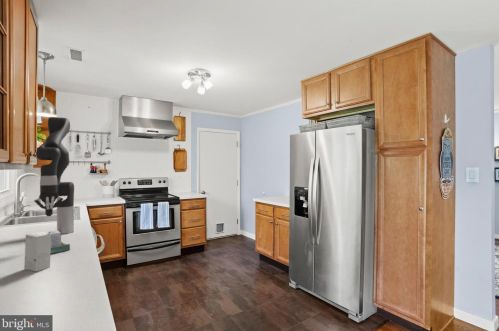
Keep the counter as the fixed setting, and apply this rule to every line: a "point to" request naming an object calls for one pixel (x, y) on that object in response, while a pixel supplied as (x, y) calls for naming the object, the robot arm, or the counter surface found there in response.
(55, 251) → the wooden tray
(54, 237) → the medicine box
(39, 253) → the skincare box
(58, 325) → the counter surface
